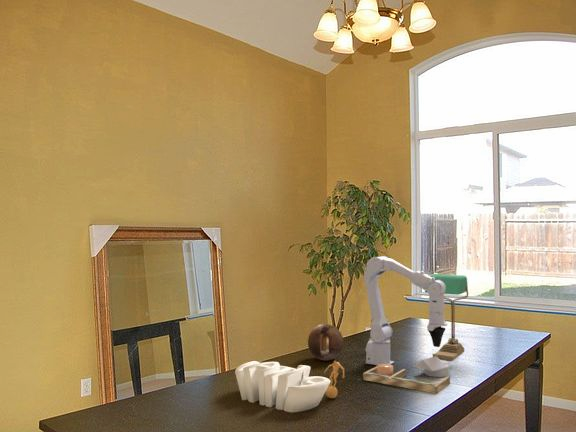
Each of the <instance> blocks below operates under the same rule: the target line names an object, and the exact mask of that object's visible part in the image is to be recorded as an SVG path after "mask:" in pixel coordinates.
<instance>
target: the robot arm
mask: <svg viewBox="0 0 576 432" xmlns="http://www.w3.org/2000/svg"><path fill="white" fill-rule="evenodd" d="M388 271H393V272H395V273H397V274H398V275H400V276H404V277H405V278H407V279H409V280H410V283H411V284H413V285H414V286H416V287H418V288H419V289H422V290H424V292H425V291H427V292H428V293H427V294H428V299H429V300H428V323H427V324H428V325H427V327H426V328H427V329H426V330H427V331H428V333H429V335H430V338H431V340H432V345H433V347H436V348H441V347H440V346H441V344H442V339H443V335H444V333H445V331H446V328H445V327H447V326H448V323H446V320H445V299H444V297H445V294H443V293H444V292H445V290H446V285H445V284H444V282H442V281H441V280H435V278H434V277H430V276H431V275H427V274H426V273H425V271H423V270H416V271H414V270H412V269H411V268H408V267H406V266H405V265H403V264H401V263H400V262H398V261H397V260H395V259H393V258H389V257H388V256H386V255H381V256H374V257H370V259H368V261H367V263H366V268H365V272H364V277H363V278H364V284H365V289H366V294H367V300H368V305H369V310H370V315H371V319H372V322H371V321H370V332H369V335H370V336H369V337H370V338H371V339H372V340H373V341H369V340H368V341H367V343H366V348H365V349H366V351H365V353H366V354H365V356H366V357H365V358H366V359H365V362H364V363H365V364H367V365H375V366H377V365H378V364H390V365H393V364H394V363H395V361H393V360H391V337H392V335H393V332H394V331H393V328H392V327H391V325H390V323H389V320H388V318H386V314H385V310H384V305H383V301H382V296H381V290H380V287H379V286H380V285H379V279H380V277H381V276H382V275H383V274H384V273H386V272H388Z"/></svg>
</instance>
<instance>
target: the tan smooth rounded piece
mask: <svg viewBox="0 0 576 432" xmlns="http://www.w3.org/2000/svg"><path fill="white" fill-rule="evenodd" d="M376 366H377V374H380V375H385V376H389V377H390V376H392V375H394V365H393V364H378V365H376Z"/></svg>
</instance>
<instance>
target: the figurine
mask: <svg viewBox="0 0 576 432" xmlns="http://www.w3.org/2000/svg"><path fill="white" fill-rule="evenodd" d="M330 367H332V369H333V370H332V371H331V373H330V375H329V378H328V379H329V380H330V381H331V382H330V384H329V386H328V388H327V390H326V392H325V395H326V397H327V398H329V399H335V398H336V397H337V396H338V394H339V393H338V389H337V387H336V384H337V379H338V376H339V372H338V371H339V370H340V369H341V370H342V379H345V368H344V367H343V366H342V365H341V363H340V362H339V361H336V360H334V361H333V362H332V364H329V365H328V366H327V368H325V370H324V374H326V372H327V370H329V368H330ZM339 368H340V369H339ZM324 374H323V375H324Z"/></svg>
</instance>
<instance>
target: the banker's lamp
mask: <svg viewBox="0 0 576 432" xmlns="http://www.w3.org/2000/svg"><path fill="white" fill-rule="evenodd" d="M429 276H430V277H434V278H435V280H441V281H442V282H444V284H445V285H446V290H445V292H444V293H443V294H444V295H456V296H458V295H462V294H464V293H465V292H466V295H464V296H461V297H458V298H454V299H453V300H452V299H451V298H450V297H446V296H444V300H446V301H449V302H450V309H451V311H450V313H451V314H450V315H451V318H450V319H451V320H450V321H451V322H450V323H451V325H450V327H451V328H450V329H451V330H450V331H451V334H450V337H451V338H450V337H449V338H448V341H447V342H446V343H444V344H443V345H442V346H441V347H439V349H438V351H437V352H435V353H432V357H435V356H437V357H438V358H439V360H445V361H451V362H452V361H454V360H455V359H457V358H458V357H459V356H460V355H462V354H463V353H464V352H465V347H464V346H463V344H462V343H461V342H459V339H458V338H456V317H455V316H456V315H455V314H456V311H455V310H456V306H455V301H460V300H465V299H467V298H468V297H469V289H468V288H469V287H468V278H467V276H466V275H464V274H463V275H461V274H444V273H443V274H442V273H441V274H440V273H438V274H437V273H435V274H430V275H429ZM424 293H427V294H428V292H427V291H425V290H424Z"/></svg>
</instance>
